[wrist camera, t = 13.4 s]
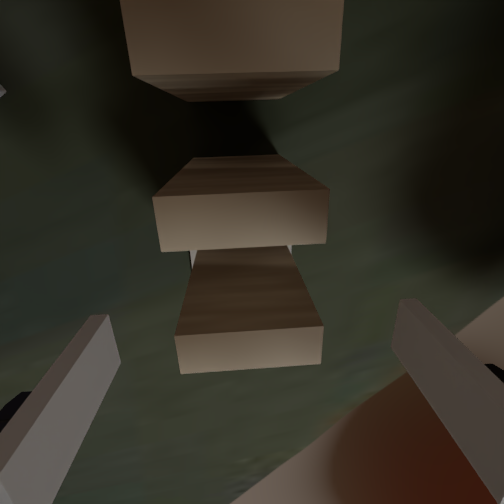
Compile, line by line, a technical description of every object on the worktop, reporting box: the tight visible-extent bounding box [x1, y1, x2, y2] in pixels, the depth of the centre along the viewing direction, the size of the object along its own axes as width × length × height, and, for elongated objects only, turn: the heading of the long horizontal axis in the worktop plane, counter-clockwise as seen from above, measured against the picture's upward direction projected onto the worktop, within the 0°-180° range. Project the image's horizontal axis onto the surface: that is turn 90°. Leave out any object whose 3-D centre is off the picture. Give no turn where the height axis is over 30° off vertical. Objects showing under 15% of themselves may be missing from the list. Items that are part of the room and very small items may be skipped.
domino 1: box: [120, 0, 344, 102], centre depth 14 cm, size 2×6×12 cm, turn 92°
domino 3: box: [174, 245, 324, 374], centre depth 18 cm, size 2×6×12 cm, turn 92°
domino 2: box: [152, 154, 330, 252], centre depth 16 cm, size 2×6×12 cm, turn 92°
